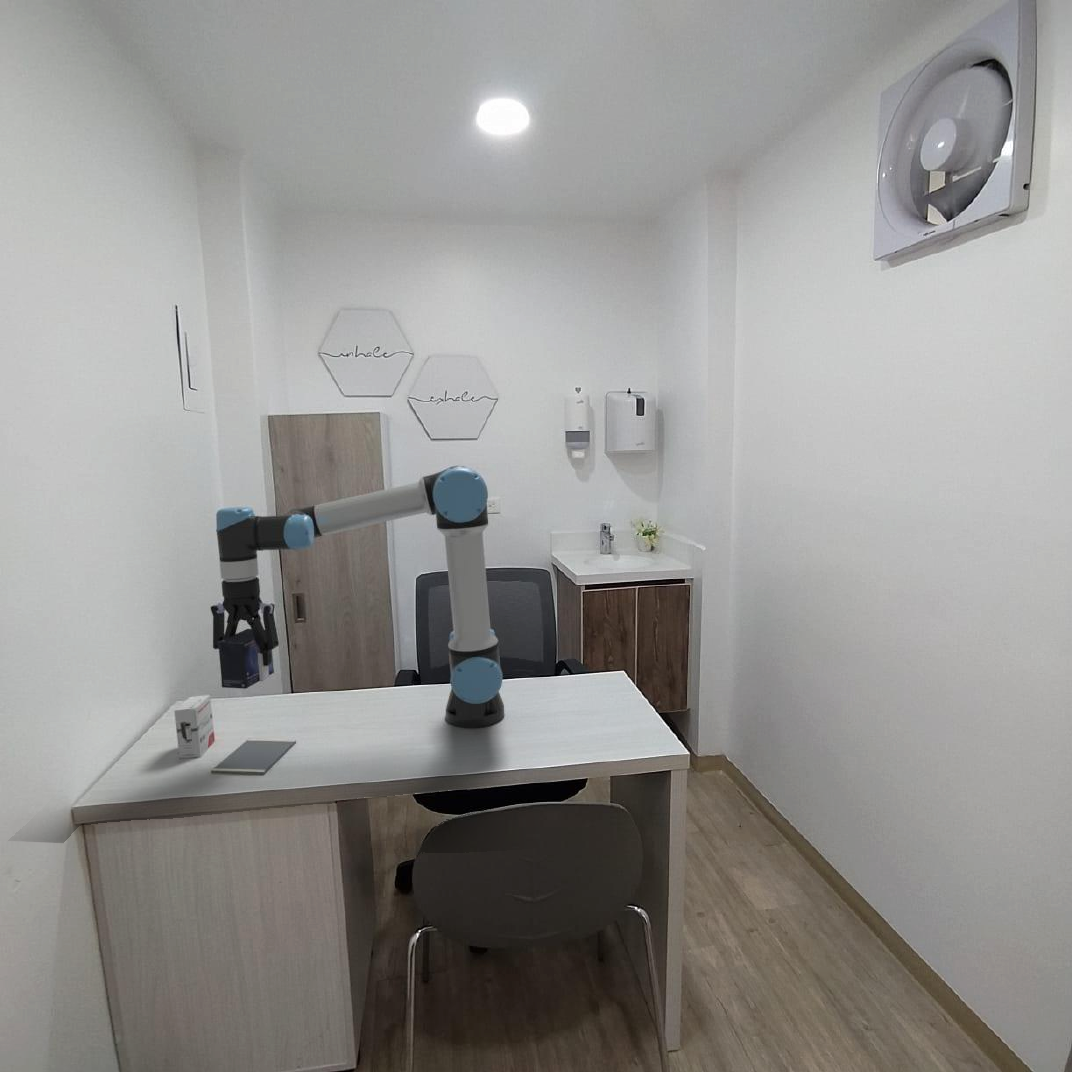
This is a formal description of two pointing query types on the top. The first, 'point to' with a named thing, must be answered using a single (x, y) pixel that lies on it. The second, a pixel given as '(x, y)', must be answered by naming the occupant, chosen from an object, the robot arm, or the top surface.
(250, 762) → the mat
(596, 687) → the top surface
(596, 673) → the top surface
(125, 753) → the top surface
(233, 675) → the small box
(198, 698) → the ink box
